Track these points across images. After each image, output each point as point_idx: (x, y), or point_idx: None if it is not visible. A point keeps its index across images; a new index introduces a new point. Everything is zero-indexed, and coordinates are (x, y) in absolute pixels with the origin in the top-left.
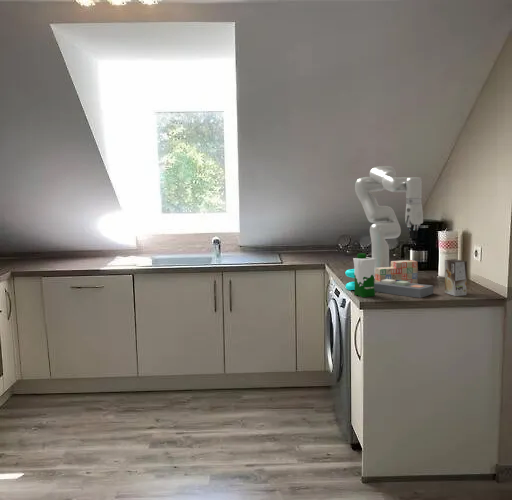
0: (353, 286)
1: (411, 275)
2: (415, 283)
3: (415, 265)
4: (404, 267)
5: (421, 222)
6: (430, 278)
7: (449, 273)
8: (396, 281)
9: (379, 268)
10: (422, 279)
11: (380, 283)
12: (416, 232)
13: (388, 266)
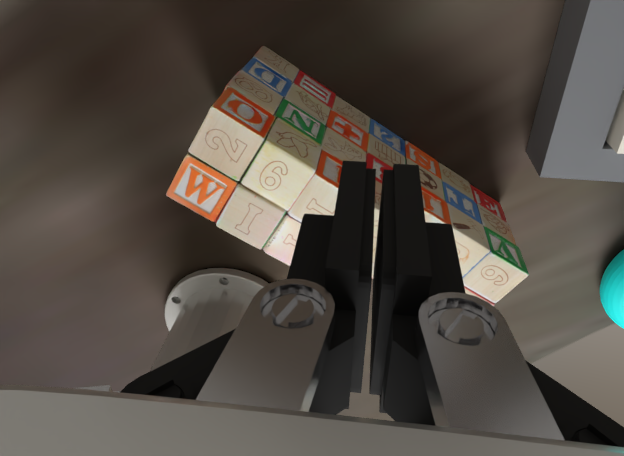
0: None
1: (294, 96)
2: (275, 55)
3: (242, 104)
4: (341, 162)
5: (32, 427)
6: (12, 78)
7: None
8: (576, 82)
9: (483, 297)
10: (86, 105)
11: None
12: (368, 236)
13: (194, 333)
